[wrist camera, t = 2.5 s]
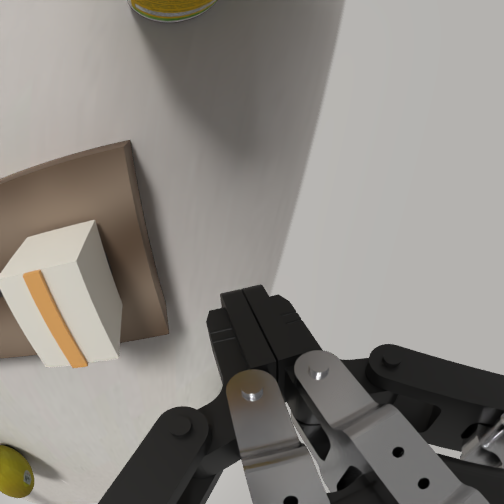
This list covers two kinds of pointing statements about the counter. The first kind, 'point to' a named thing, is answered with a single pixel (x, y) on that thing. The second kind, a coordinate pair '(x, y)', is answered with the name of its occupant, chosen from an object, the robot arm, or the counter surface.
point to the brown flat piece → (78, 211)
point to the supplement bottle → (170, 9)
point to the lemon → (15, 473)
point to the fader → (65, 296)
